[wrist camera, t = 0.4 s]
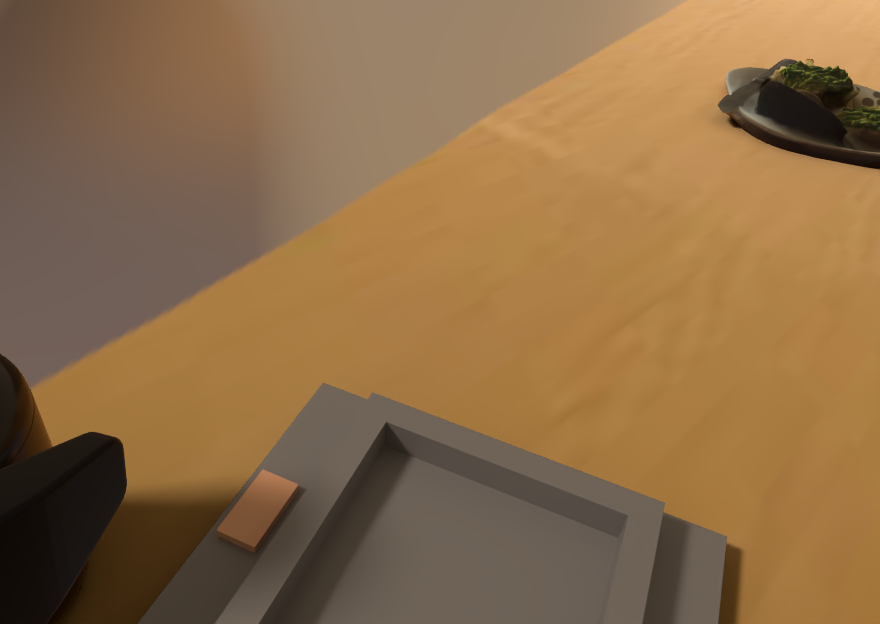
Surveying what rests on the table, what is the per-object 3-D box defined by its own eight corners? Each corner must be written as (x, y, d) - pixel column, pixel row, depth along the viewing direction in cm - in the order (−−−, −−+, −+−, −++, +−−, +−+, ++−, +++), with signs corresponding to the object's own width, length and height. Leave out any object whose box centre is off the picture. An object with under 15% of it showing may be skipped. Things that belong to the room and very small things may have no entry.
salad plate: (701, 62, 74) (717, 16, 71) (881, 95, 72) (905, 49, 69) (712, 142, 59) (733, 88, 56) (938, 187, 57) (972, 133, 54)
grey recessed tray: (669, 987, 19) (701, 971, 17) (105, 687, 23) (88, 651, 21) (718, 550, 29) (741, 514, 27) (323, 397, 33) (323, 358, 31)
